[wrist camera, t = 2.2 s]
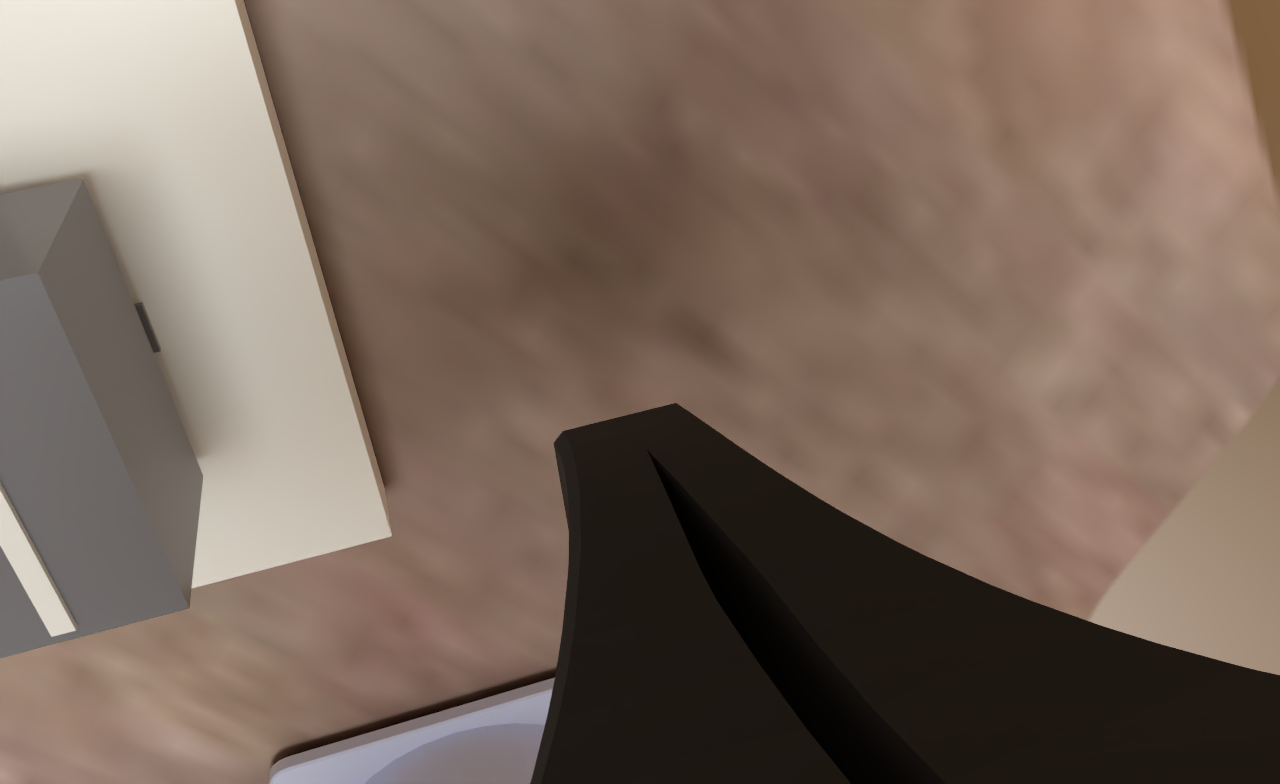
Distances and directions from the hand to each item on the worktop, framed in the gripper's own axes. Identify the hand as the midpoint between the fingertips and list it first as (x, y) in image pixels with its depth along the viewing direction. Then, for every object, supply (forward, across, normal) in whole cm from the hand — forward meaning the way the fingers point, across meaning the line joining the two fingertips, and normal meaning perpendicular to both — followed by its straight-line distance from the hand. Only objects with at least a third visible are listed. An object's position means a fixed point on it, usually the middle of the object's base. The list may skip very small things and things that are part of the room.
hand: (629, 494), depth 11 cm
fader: (+7, +7, 0) cm, 10 cm away
